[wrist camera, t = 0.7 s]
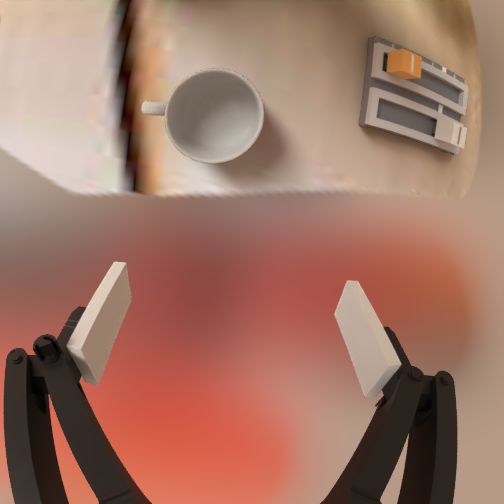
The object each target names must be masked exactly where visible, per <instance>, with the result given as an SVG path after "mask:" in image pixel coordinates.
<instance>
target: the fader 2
mask: <svg viewBox="0 0 504 504" xmlns="http://www.w3.org/2000/svg"><path fill="white" fill-rule="evenodd" d="M432 133H433V134H435V137H434V138H436V139H438V140H441V141H443V142H445V143H448V144H451V145H454V146H457V147H460V148H463V149H464V145H465V139H466V133H467V128H465V127H464V126H462V125H460V124H458V123H456V122H453V121H448V120H444V119H437V123H435V122H434V123H433V129H432Z"/></svg>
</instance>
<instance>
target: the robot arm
mask: <svg viewBox="0 0 504 504" xmlns="http://www.w3.org/2000/svg"><path fill="white" fill-rule="evenodd" d="M131 300H132V298H131V292H130V286H129V280H128V273H127V266H126V263H123V262H114V263H113V265H112V266H111V268H110V270H109V271H108V273H107V274H106V276H105V278H104V279H103V281H102V282H101V284H100V286H99V287H98V289H97V291H96V292H95V294H94V296H93V297H92V299H91V301H90V303H89V305H88V306H87V308H85V307H80V306H79V307H78V308H77V309H75V310H74V311H73V312H72V313H71V315H70V317H69V319H68V321H67V322H66V324H65V326H64V327H63V329H62V331H61V333H60V335H59V336H58V338H57V340H56V338H55V337H54V336H52V335H49V334H46V335H42V336H40V337H38V338H37V339H36V340H35V342H34V344H33V350H34V352H35V354H36V355H27V353H26V351H25V350H24V349H22V348H16V349H13V350H12V351H10V353H9V354H8V356H7V359H6V369H5V382H4V435H5V447H6V457H7V465H8V471H9V477H10V482H11V488H12V493H13V497H14V501H15V504H69V502H68V499H67V496H66V493H65V489H64V485H63V482H62V478H61V474H60V470H59V465H58V461H57V456H56V451H55V445H54V439H53V433H52V426H51V419H50V418H51V417H50V408H49V397H48V394H49V395H50V398H51V401H52V403H53V406H54V409H55V412H56V415H57V418H58V420H59V423H60V425H61V428H62V430H63V432H64V435H65V437H66V439H67V442H68V444H69V446H70V448H71V451H72V453H73V455H74V457H75V459H76V461H77V463H78V465H79V467H80V469H81V470H82V472H83V474H84V476H85V478H86V480H87V481H88V483H89V485H90V487H91V488H92V490H93V492H94V493H95V495H96V497H97V498H98V501H99V504H152V503H151V502H150V501H149V500H148V499H147V498H146V497H145V495H144V494H143V493H142V491H141V490H140V489H139V487H138V486H137V485H136V483H135V482H134V480H133V479H132V478H131V476H130V474H129V473H128V471H127V470H126V468H125V467H124V466H123V464H122V462H121V461H120V459H119V458H118V456H117V455H116V453H115V451H114V449H113V448H112V446H111V444H110V442H109V441H108V439H107V437H106V435H105V434H104V432H103V430H102V428H101V426H100V424H99V422H98V420H97V418H96V417H95V414H94V412H93V410H92V408H91V406H90V404H89V402H88V400H87V398H86V395H85V393H84V391H83V389H82V386H81V384H80V382H79V381H80V378H81V376H82V377H83V379H84V381H85V382H87V383H91V384H95V385H99V382H100V380H101V377H102V374H103V371H104V368H105V365H106V363H107V360H108V357H109V354H110V352H111V349H112V346H113V344H114V341H115V339H116V336H117V333H118V331H119V329H120V326H121V323H122V321H123V319H124V316H125V314H126V312H127V309H128V307H129V304H130V302H131ZM334 315H335V318H336V320H337V323H338V325H339V328H340V331H341V333H342V336H343V339H344V341H345V344H346V346H347V349H348V352H349V355H350V357H351V360H352V363H353V366H354V369H355V372H356V374H357V377H358V380H359V383H360V386H361V389H362V392H363V395H364V398H368V397H374V396H377V395H378V394H379V393H380V392H381V390H382V391H383V394H384V396H383V397H382V398H381V399H380V400H379V401H378V403H377V404H376V405H375V406H378V407H377V409H376V411H375V413H374V416H373V418H372V420H371V422H370V424H369V426H368V428H367V430H366V432H365V434H364V436H363V438H362V440H361V441H360V443H359V445H358V447H357V449H356V451H355V452H354V454H353V456H352V458H351V459H350V461H349V463H348V464H347V466H346V468H345V470H344V471H343V473H342V474H341V476H340V478H339V479H338V481H337V482H336V484H335V485H334V487H333V488H332V490H331V491H330V493H329V494H328V496H327V497H326V498H325V499H324V501H322V502H321V503H320V504H382V503H381V502H380V498H381V496H382V494H383V492H384V490H385V488H386V485H387V484H388V482H389V479H390V477H391V475H392V473H393V471H394V469H395V466H396V464H397V462H398V459H399V457H400V454H401V452H402V450H403V447H404V444H405V442H406V438H407V436H408V434H409V438H408V447H407V455H406V462H405V469H404V474H403V479H402V484H401V489H400V494H399V498H398V503H397V504H453V498H454V489H455V480H456V467H457V410H456V397H455V386H454V380H453V378H452V376H451V375H450V374H449V373H448V372H445V371H439V372H438V373H437V374H436V375H435V376H428V375H424V374H423V373H422V371H421V370H420V369H418V368H417V367H414V366H411V364H410V362H409V360H408V358H407V356H406V354H405V352H404V350H403V348H402V347H401V345H400V343H399V341H398V339H397V337H396V335H395V333H394V332H393V331H392V330H391V329H390V328H389V327H383V326H382V324H381V322H380V321H379V319H378V317H377V315H376V313H375V311H374V310H373V307H372V306H371V304H370V302H369V300H368V298H367V297H366V295H365V293H364V291H363V289H362V288H361V286H360V284H359V282H358V281H349V280H347V282H346V284H345V287H344V290H343V293H342V295H341V298H340V300H339V303H338V305H337V308H336V310H335V313H334Z"/></svg>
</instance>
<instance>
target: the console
mask: <svg viewBox="0 0 504 504" xmlns="http://www.w3.org/2000/svg"><path fill="white" fill-rule="evenodd" d="M399 49H406V48H404V47H401V46H399V45H397V44H394V43H392V42H389V41H387V40H384V39H381V38H379V37H376V36H373V37H371V38H369V41H368V53H367V64H366V73H365V82H364V91H363V98H362V106H361V113H360V119H359V125H363V126H367V127H371V128H374V129H378V130H382V131H385V132H389V133H392V134H395V135H399V136H402V137H405V138H408V139H411V140H414V141H417V142H420V143H423V144H426V145H429V146H431V147H434V148H437V149H439V150H442V151H444V152H447V153H450V154H452V155H454V154H457V155H459V151H460V147H457V146H454V145H451V144H448V143H445V142H443V141H441V140H438V139H436V138H434V137H435V134H433V133H432V129H433V123H434V122H435V123H437V119H444V120H448V121H453V122H456V123H458V124H460V125H462V126H464V124H462V123H460V117H461V115H464V116H465V115H466V107H467V97H468V86H467V85H465V84H464V79H463V78H461V77H460V76H458V75H456V74H455V73H453V72H451V71H449V70H448V69H446V68H445V67H443V66H440V65H439V64H437V63H435V62H433V61H431V60H429V59H427V58H425V57H423V56H421V55H419V54H417V53H415V52H412V51H410V50H408V49H406V50H408V51H410V52H412V53H415V54H417V55H419V56H421V57H422V67H421V79H402V78H400V77H397V76H395V75H392V74H389V73H387V72H386V71H387V70H385V58H388V52H391V51H395V50H399Z"/></svg>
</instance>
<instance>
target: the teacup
mask: <svg viewBox="0 0 504 504" xmlns="http://www.w3.org/2000/svg"><path fill="white" fill-rule="evenodd" d="M142 113H143V114H147V115H160V116H165V126H166V131H167V134H168V136H169V138H170V140H171V142H172V143H173V145H174V146H175V147H176V148H177V149H178V150H179V151H180V152H181V153H182V154H183V155H185V156H187V157H189V158H190V159H192V160H195V161H198V162H201V163H208V164H216V163H224V162H227V161H231V160H233V159H235V158H237V157H239V156H241V155H242V154H244V153H245V152H246V151H247V150H249V149H250V147H251V146H252V145H253V144H254V143H255V141H256V140H257V138H258V136H259V134H260V132H261V130H262V127H263V123H264V104H263V101H262V99H261V96H260V94H259V92H258V91H257V89H256V88H255V87H254V85H253V84H252V83H251V82H250V81H249V80H248V79H246V78H245V77H244V76H242V75H240V74H238V73H236V72H234V71H231V70H227V69H220V68H212V69H205V70H201V71H198V72H195V73H193V74H191V75H190V76H188V77H186V78H185V79H183V80H182V81H181V82H180V83H179V84H178V85H177V86H176V87H175V89H174V90H173V92H172V93H171V95H170V97H169V100H168V102H158V101H145V102H144V103H143V104H142Z"/></svg>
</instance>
